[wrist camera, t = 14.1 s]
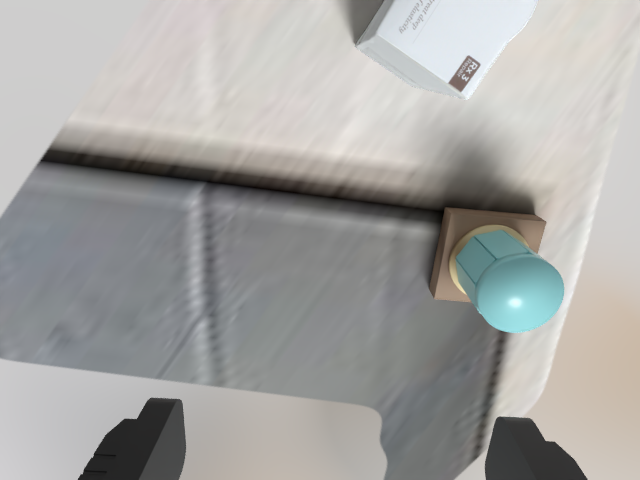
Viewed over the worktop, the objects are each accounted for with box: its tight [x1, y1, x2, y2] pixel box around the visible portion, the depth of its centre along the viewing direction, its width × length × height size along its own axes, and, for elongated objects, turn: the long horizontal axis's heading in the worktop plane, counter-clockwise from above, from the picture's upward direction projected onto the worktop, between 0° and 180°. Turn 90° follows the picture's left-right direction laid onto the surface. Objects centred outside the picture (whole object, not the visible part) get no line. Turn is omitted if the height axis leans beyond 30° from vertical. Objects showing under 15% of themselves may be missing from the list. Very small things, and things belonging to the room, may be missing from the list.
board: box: [429, 207, 546, 302], centre depth 36 cm, size 8×8×6 cm
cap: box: [455, 230, 564, 333], centre depth 33 cm, size 6×6×6 cm
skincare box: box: [355, 0, 539, 100], centre depth 25 cm, size 8×6×15 cm
